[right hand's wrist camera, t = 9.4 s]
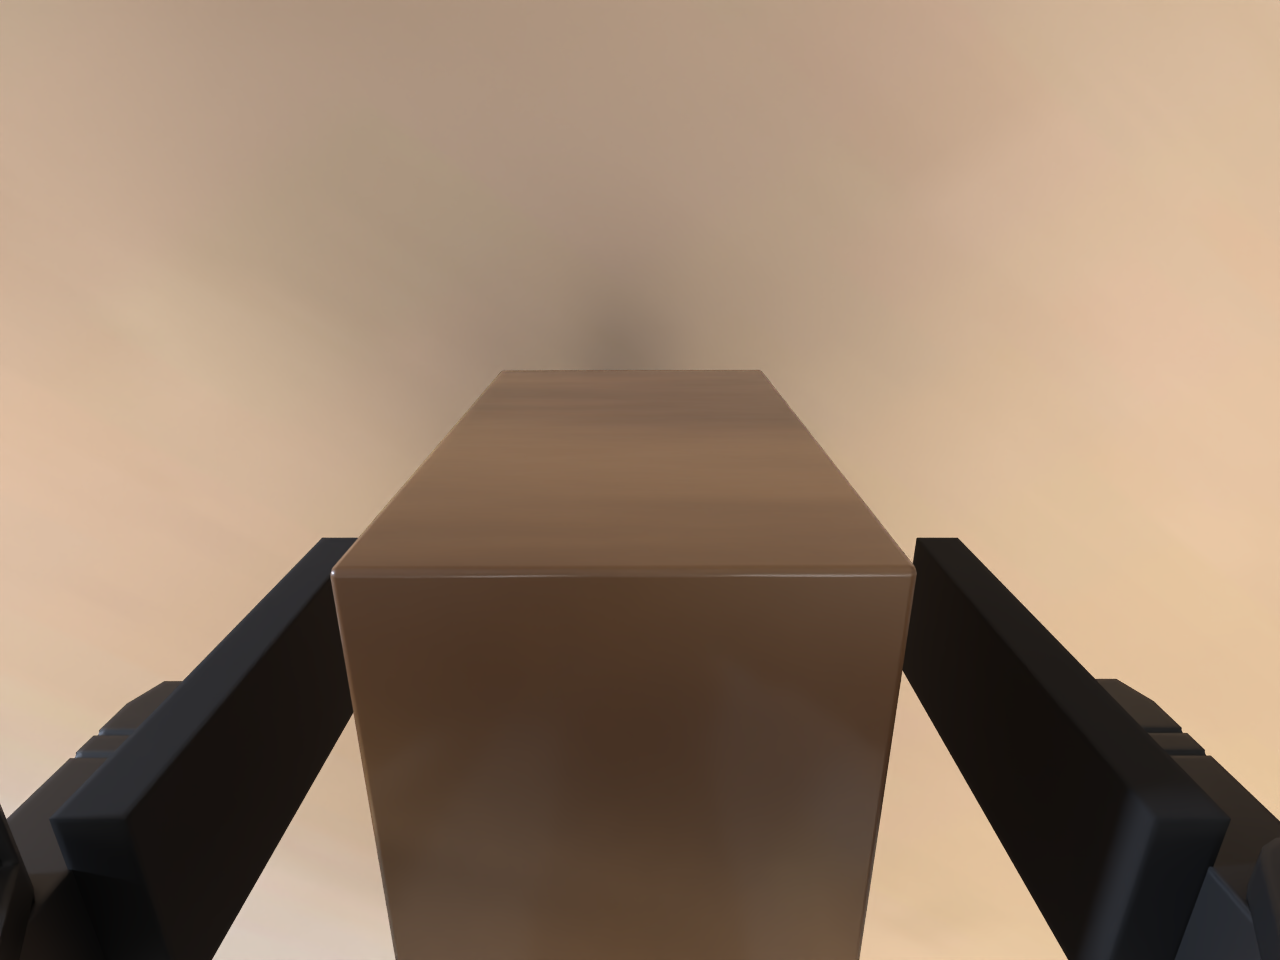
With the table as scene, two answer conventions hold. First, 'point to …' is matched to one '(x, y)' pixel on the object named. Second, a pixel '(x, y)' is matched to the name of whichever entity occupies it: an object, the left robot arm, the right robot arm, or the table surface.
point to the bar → (625, 677)
